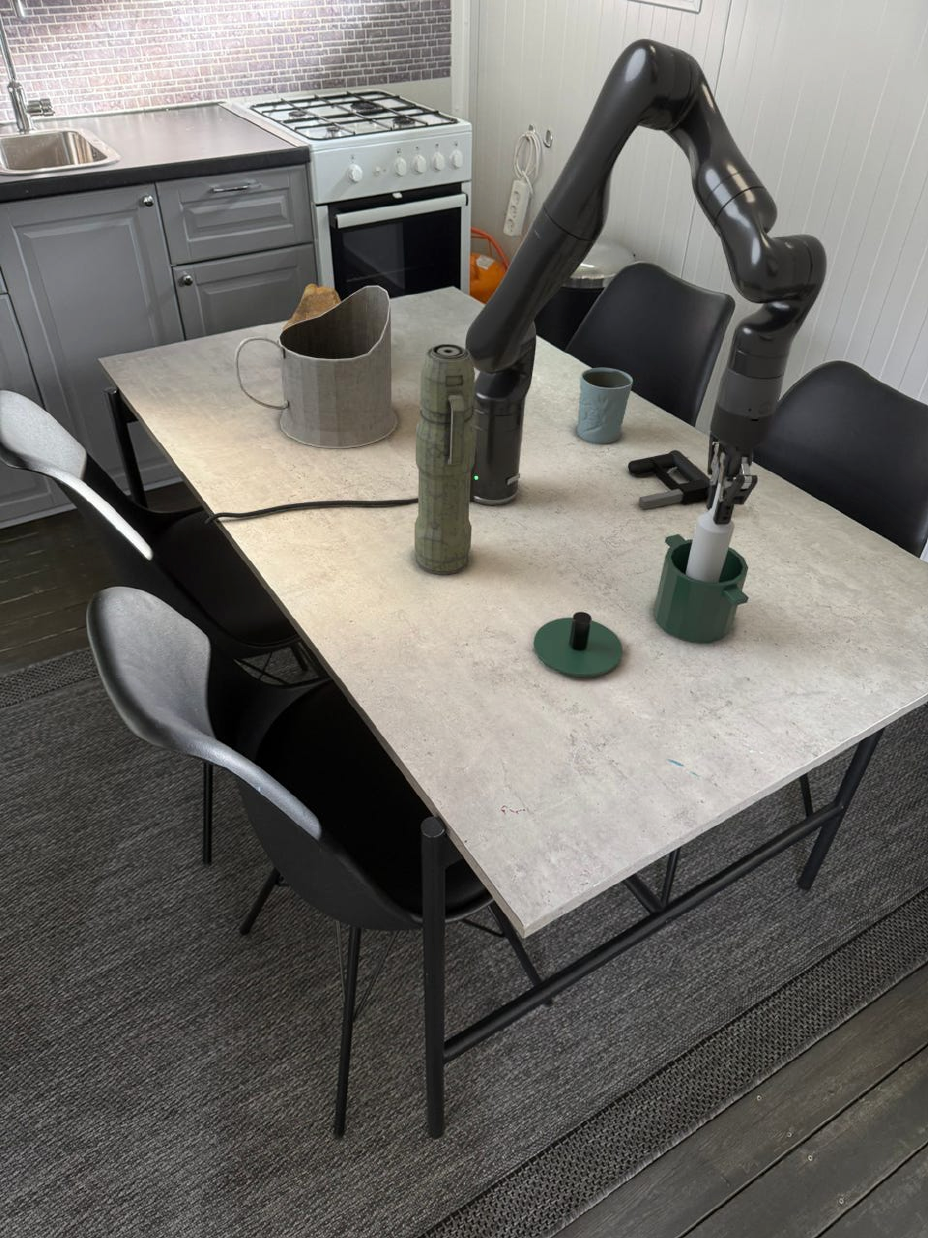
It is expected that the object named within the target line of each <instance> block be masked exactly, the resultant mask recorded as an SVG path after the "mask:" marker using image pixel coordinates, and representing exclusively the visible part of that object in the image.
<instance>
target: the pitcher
mask: <svg viewBox="0 0 928 1238" xmlns="http://www.w3.org/2000/svg"><path fill="white" fill-rule="evenodd" d="M391 307H392V306H391V298H390V296H389V293H388V291H387V290H386V289H384V288H383V287H381V286H379V285H366V286H364V287H362V288H360V289H359V290H357V291H355V292H353V293H352V294H350V295H349V296H348V297H346V298H345V299H344V300H341V303H339V304H338V305H337V306H335V307H334V308H332V309H330V310H329V311H327V312H325V313H324V314H322V315H320V316H318V317H314V318H311V319H307V320H304V321H301V322H298V323H295V324H292V325H290V326H289V327H287V328H286V329H284V330H283V329H282V330H281V332H280V334H279V335H278V338H277V341H278V340H279V344H278V343H277V341H275V340H273V339H271V338H269V337H266V336H257V335H255V336H249V337H246V338H244V339H243V340H241V341H240V342H239V343H238V345H237V347H236V348H235V352H234V356H233V363H234V364H233V365H234V373H235V377H236V381H237V384H238V387H239V388H240V390H241V391H242V392H243V393H244V394H245V396H247V397H248V398H249V399H250V400H251V401H253V402H254V403H256V404H257V405H260V406H261V407H264V408H267V409H270V410H275V411H282V414H281V417H280V420H279V423H280V428H281V430H282V431H283V432H284V433H285V434H286V436H288V437H289V438H290V439H293V440H294V441H296V442H299V443H300V444H304V445H307V446H308V445H309V446H313V447H317V448H323V449H350V448H358V447H363V446H366V445H370V444H375V443H376V442H378V441H381V440H383V439H385V438H387V437H388V436H389V435H390V434H391V433H392V432H394V430H395V429H396V426H397V422H398V418H397V416H396V413H395V411H394V408H393V406H392V405H393V404H392V403H393V402H392V401H393V400H392V399H393V397H392V313H391V310H392V309H391ZM253 341H264V342H267V343H271V344H272V345H275V346H276V347H277V348H278V349H279V350H278V351H279V361H280V373H281V384H282V393H283V395H282V396H283V405H279V406H277V405H272V404H268V403H264V402H262V401H260V400H258V399H256V398H255V397H253V396H252V395H251V394H249V393H248V392H247V391H246V390H245V388H244V386H243V384H242V380H241V375H240V370H239V369H240V368H239V356H240V352H241V351H242V349H243V348H244V346H245V345H247V344H248V343H249V342H253Z"/></svg>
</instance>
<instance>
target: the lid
mask: <svg viewBox="0 0 928 1238" xmlns="http://www.w3.org/2000/svg"><path fill="white" fill-rule="evenodd" d="M592 619H593V618H592V616H591V615H590V614H589V613H587V612H584V611H577V612H575V613H574V614H573V615H572V617H560V618H556V619H553V620H551V621H548V622H546V623H545V624H543V625H542V626H540V628H538V629H537V631H536V633H535V635H534V638H533V648H534V652H535V654H536V656H537V658H538V659H539V660H540V661H541V662H542V663H543V664H544V665H545V666H547V667H548V668H549V669H551V670H553V671H555V672H557V673H560V674H563V675H566V676H570V677H577V678H589V677H597V676H601V675H604V674H607V673H608V672H610V671H612V670H613V669H615V667H617V665H619V663H620V661H621V660H622V655H623V646H622V642H621V640H620V639H619V636H617V634H616V633H615V632H614V631H612V629H610V628H609V627H607V626H605V625H604V624H602V623H600V622H597V621H595V620H592Z"/></svg>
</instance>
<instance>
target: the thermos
mask: <svg viewBox="0 0 928 1238" xmlns="http://www.w3.org/2000/svg"><path fill="white" fill-rule="evenodd" d="M424 355H425V356H424V358H423V361H422V364H421V367H420V384H419V385H420V390H419V391H420V397H419V398H420V399H419V401H420V402H419V403H420V406H421V409H420V411H419V419H418V422H417V424H416V428H415V465H416V467H417V469H418V492H417V493H418V495H417V498H418V502H417V512H418V514H417V517H416V519H415V522H414V550H415V563H416V565H417V566H418V568H419V569H421V570H422V571H424V572H426V573H429V574H431V575H437V576H450V575H454V574H457V573H461V572H462V571H464V569H465V568H466V567H468V565H469V562H470V551H471V546H472V530H473V529H472V524H471V521H470V519H469V517H470V501H469V500H470V480H471V470H472V468H473V466H474V463H475V445H476V430H475V427H474V423H473V413H472V406H473V401H474V382H475V380H476V379H475V378H476V377H475V376H476V372H475V371H476V370H475V368H474V367H473V363H472V360H471V356H470V353H469V351H468V350H466V349H465V347H462V346H460V345H458V344H454V343H442V344H437V345H435V346H431V347H430V348H428V349H427V351H426V353H425V354H424Z"/></svg>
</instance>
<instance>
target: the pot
mask: <svg viewBox="0 0 928 1238" xmlns="http://www.w3.org/2000/svg"><path fill="white" fill-rule="evenodd" d="M664 538H665V539H664V543H665V544H666V545H667V546H668V549H667V551H666V554H665V556H664V560H663V565H662V569H661V574H660V579H659V583H658V587H657V588H658V589H657V593H656V598H655V601H654V607H653V618H654V621H655V622H656V624H657V625H658V627H659V628H660V629H662V631H664V632H665V633H666V634H668V635H670V637H674V638H675V639H678V640H680V641H684V642H688V643H693V644H709V643H715V642H718V641H720V640H723V639H724V638H726V637H727V636H728V635H729V634H730V632H731V630H732V627H733V623H734V620H735V616H736V613H737V610H738V607H739V606H740V605H744V604H747V603H748V601H749V598H750V596H748V595H747V594H746V593H745V592H744V591H743V589H744V585H745V582H746V579H747V576H748V570H749V565H748V563H747V561H746V559H745V557H743V555H741V554H740V553H739V552H738V551H737V550H736V549H734V548H732V547H730V546H729V547H728V551H727V554H726V558H725V561H724V564H723V568H722V571H721V575H720V578H719V581H718V583H717V582H704V581H700V580H696V579H693V578H691V577H689V576H687V575H686V570H687V565H688V561H689V556H690V551H691V547H692V542H693V538H692V539H691V538H690V539H685V538H684V537H683V536H681V534H680V533H677V534H673V535H667V536H665V537H664Z"/></svg>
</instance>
